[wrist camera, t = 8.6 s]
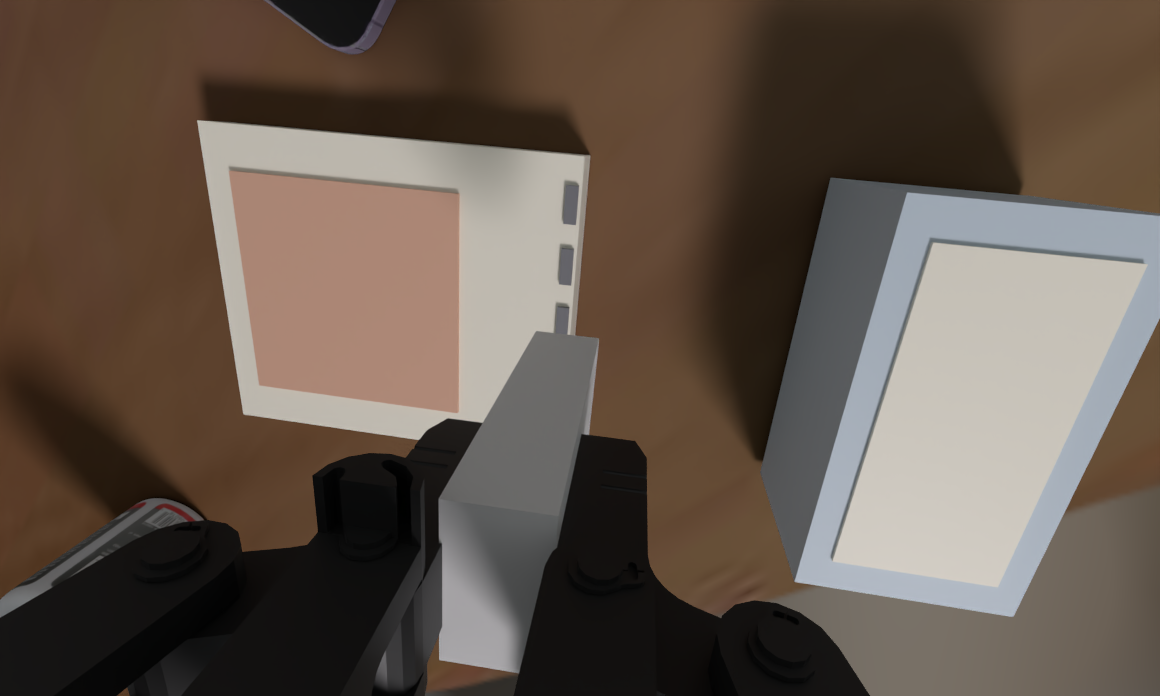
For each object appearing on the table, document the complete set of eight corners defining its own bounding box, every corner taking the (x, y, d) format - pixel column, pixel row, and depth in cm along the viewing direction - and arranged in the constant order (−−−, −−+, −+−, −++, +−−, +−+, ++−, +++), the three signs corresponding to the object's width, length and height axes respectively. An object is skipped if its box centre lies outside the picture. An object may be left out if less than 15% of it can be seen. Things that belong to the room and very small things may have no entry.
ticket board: (268, 398, 23) (240, 415, 22) (230, 122, 19) (193, 119, 18) (565, 440, 22) (559, 462, 21) (590, 155, 18) (584, 156, 17)
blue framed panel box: (760, 472, 21) (795, 584, 16) (830, 177, 17) (909, 192, 12) (922, 495, 21) (1015, 620, 15) (1032, 196, 17) (1212, 221, 11)
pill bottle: (148, 568, 28) (-46, 730, 20) (120, 491, 27) (-103, 635, 19) (231, 577, 28) (64, 746, 20) (208, 498, 26) (15, 650, 18)
